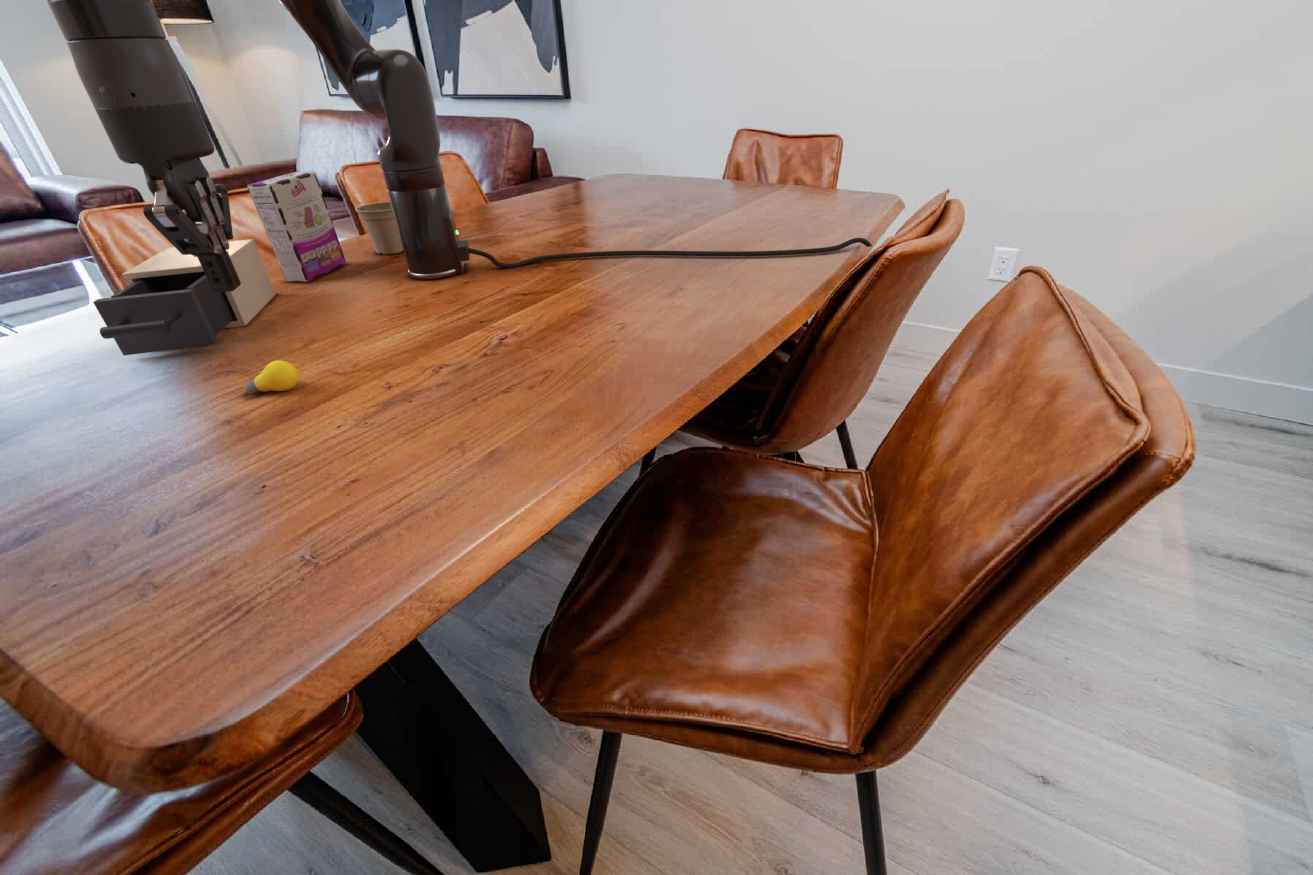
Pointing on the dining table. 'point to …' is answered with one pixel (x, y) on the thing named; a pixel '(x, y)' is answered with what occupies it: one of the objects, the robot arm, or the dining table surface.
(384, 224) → the flower pot
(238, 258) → the cabinet
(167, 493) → the dining table surface
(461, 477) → the dining table surface
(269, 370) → the light bulb
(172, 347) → the drawer
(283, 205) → the candy bar box
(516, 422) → the dining table surface
